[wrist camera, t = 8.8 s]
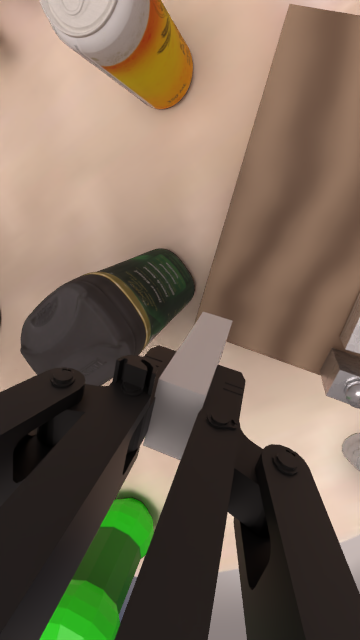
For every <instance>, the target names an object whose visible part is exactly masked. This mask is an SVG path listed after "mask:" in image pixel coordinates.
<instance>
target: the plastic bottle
mask: <svg viewBox="0 0 360 640" xmlns="http://www.w3.org/2000/svg"><path fill="white" fill-rule="evenodd" d="M153 534H154V528H153V520H152V517H151V515H150V514H149V512H148V509H147V508H146V507H145V506H144V504H143V503H142V502H140V501H138V500H136V499H134V498H124V499H115V500H114V501H113V503H112V505H111V507H110V509H109V511H108V513H107V514H106V516H105V518H104V520H103V522H102V524H101V526H100V528H99V529H98V531H97V533H96V535H95V537H94V539H93V541H92V542H91V544H90V546H89V548H88V550H87V552H86V554H85V555H84V557H83V559H82V561H81V563H80V565H79V567H78V569H77V570H76V572H75V574H74V576H73V578H72V580H71V582H70V583H69V585H68V587H67V589H66V591H65V593H64V595H63V597H62V598H61V600H60V602H59V604H58V606H57V608H56V610H55V611H54V613H53V615H52V617H51V619H50V621H49V623H48V624H47V626H46V628H45V630H44V632H43V634H42V636H41V638H40V639H39V640H114V639H115V637H116V634H117V631H118V629H119V626H120V620H119V613H120V610H121V608H122V605H123V603H124V600H125V597H126V595H127V592H128V590H129V587H130V585H131V582H132V579H133V577H134V574H135V572H136V569H137V567H138V564H139V562H140V559H141V558H143V557H144V556H145V555H146V553H147V550H148V547H149V545H150V542H151V539H152V537H153Z"/></svg>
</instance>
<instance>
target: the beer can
mask: <svg viewBox="0 0 360 640" xmlns="http://www.w3.org/2000/svg"><path fill="white" fill-rule="evenodd" d="M39 1H40V4H41V6H42V9H43V11H44V13H45V14H46V16H47V18H48V19H49V22H50V24H51V26H52V28H53V30H54V31H55V33H56V34H57V36H58V37H59V38H60V39H61V40H62V41H63V42H64V43H65V44H66V45H67V46H69V47H70V48H71V49H73V50H74V51H75V52H77V53H78V54H79V55H81V56H82V57H83V58H85V59H86V60H87V61H89V62H90V63H91V64H93V65H94V66H95V67H97V68H98V69H99V70H101V71H102V72H104V73H105V74H106V75H108V76H109V77H110V78H112V79H113V80H114V81H116V82H117V83H118V84H120V85H121V86H122V87H124V88H125V89H126V90H128V91H129V92H130V93H132V94H133V95H134V96H136V97H137V98H139V99H140V100H141V101H143V102H144V103H145V104H147V105H148V106H150V107H152V108H156V109H165V108H169V107H171V106H173V105H175V104H176V103H177V102H179V101H180V100H181V99H182V97H183V96H184V95H185V93H186V92H187V90H188V88H189V85H190V82H191V79H192V72H193V63H192V56H191V53H190V50H189V48H188V46H187V44H186V43H185V41H184V39H183V38H182V36H181V34H180V32H179V31H178V29H177V27H176V26H175V24H174V22H173V20H172V19H171V17H170V15H169V14H168V12H167V10H166V8H165V7H164V5H163V3H162V2H161V0H39Z"/></svg>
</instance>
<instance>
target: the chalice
mask: <svg viewBox="0 0 360 640" xmlns="http://www.w3.org/2000/svg"><path fill="white" fill-rule="evenodd" d="M342 452H343V454H344V456H345V457H346V459H347V460H348V461H349V462H350V463H351V464H352V465H353V466H354V467H355V468H356V469H357V470H359V471H360V433H356V434H354V435H351V436H349V437H348V438H347V439H346V440H345V441H344V443H343V445H342Z"/></svg>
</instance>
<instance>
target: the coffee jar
mask: <svg viewBox="0 0 360 640" xmlns="http://www.w3.org/2000/svg"><path fill="white" fill-rule="evenodd" d="M193 294H194V282H193V279H192V277H191V275H190V273H189V271H188V270H187V269H186V267H185V266H184V264H183V263H182V262H181V260H180V259H179V258H178V257H177V256H176V255H175V254H174V253H172V252H171V251H169V250H166V249H155V250H152V251H149V252H146V253H144V254H141V255H139V256H137V257H134V258H132V259H129V260H127V261H124V262H121V263H119V264H116V265H114V266H111V267H108V268H106V269H103V270H100V271H98V272H92V273H88V274H85V275H82V276H80V277H78V278H76V279H74V280H72V281H70V282H68V283H65V284H64V285H62V286H60V287H59V288H57V289H56V290H55V291H54V292H52V293H51V294H50V295H49V296H47V297H46V298H45V299H44V300H43V301H42V302H41V303H40V304H39V305H38V306H37V307H36V308H35V309H34V310H33V312H32V313H31V314H30V315H29V316H28V317H27V319H26V320H25V322H24V325H23V328H22V333H21V354H22V355H23V356H24V358H25V359H26V361H27V362H28V363H29V365H30V366H31V367H32V369H33V370H34V371H35V373H36V374H37V375H39V374H41V373H43V372H45V371H47V370H50V369H54V368H61V367H66V368H73V369H75V370H77V371H79V372H81V373H82V374H83V375H84V377H85V384H89V385H96V386H101V385H102V384H104V383H106V382H107V381H109V380H110V379H112V378H113V377H114V371H115V364H116V360H117V359H118V358H120V357H122V356H127V355H137V356H138V355H139V354H140V353H141V352H142V350H143V349H144V348H145V347H146V346H147V345H148V344H149V343H150V341H151V340H152V339H153V338H154V337H155V336H156V335H157V334H158V333H159V332H160V331H161V330H162V329H163V328H164V327H165V326H166V325H167V324H168V323H169V322H170V321H171V320H172V319H173V318H174V317H175V316H176V315H177V314H178V313H179V312H180V311H181V310H182V309H183V308H184V307H185V306H186V305H187V304H188V303H189V301H190V300H191V299H192V297H193Z"/></svg>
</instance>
